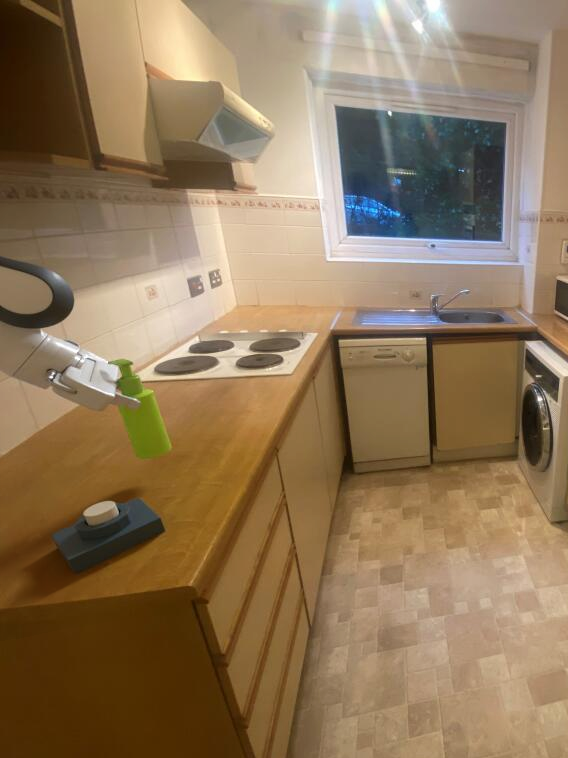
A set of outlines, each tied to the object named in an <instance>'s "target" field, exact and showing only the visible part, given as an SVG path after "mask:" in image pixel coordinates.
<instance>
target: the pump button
mask: <svg viewBox="0 0 568 758" xmlns="http://www.w3.org/2000/svg"><path fill="white" fill-rule="evenodd" d="M115 503H116V502H115V501H112V500H105V501H101V502H98V503H95V504H93V505H91V506H89V507H88V508H86V509H85V510H84V511H83V513H82V516H84V517H85V519H86V521H87V523H88V525H90V526H94V525H99V524H103V523H105V522H107V521H110V520H112V519H113V518H115V517H116V516H118V515H119V511H118V509H117V506H116V504H115Z"/></svg>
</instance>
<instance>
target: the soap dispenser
mask: <svg viewBox="0 0 568 758" xmlns="http://www.w3.org/2000/svg"><path fill="white" fill-rule="evenodd" d="M108 364H113V365H115V366H116V367H118V369H119V372H120V375H121V376H120V377H119V379H118V383H119V386H120V389H121V391H120V393H121V395H124V396H127V397H130V398H131V397H133V398H136V399H138V400H140V401H141V405H140V406H139V407H138V409H136V410H132V409H130V408H127V407H122V406H117V408H118V410H119V413H120V416H121V418H122V421H123V424H124V426H125V430H126V432H127V435H128V437H129V440H130V444H131V446H132V448H133V452H134V454H135V457H136V458H137V459H139V460H148V459H155V458H157V457H160V456H163V455H165V454H167V453H169V452H170V451H171V450H172V449H173V447H172V444H171V441H170V437H169V435H168V432H167V429H166V426H165V423H164V420H163V417H162V414H161V411H160V408H159V405H158V401H157V399H156V396H155V393H154V390H153V389H150V388H144V385H143V382H142V378H141V376H140V375H138V374H135V373H133V369H132V367H131V366H132V365H134V362H133V361H131V360H129V359H126V358H120V359H115V360H111V361H108Z"/></svg>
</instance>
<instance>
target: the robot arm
mask: <svg viewBox="0 0 568 758" xmlns="http://www.w3.org/2000/svg"><path fill="white" fill-rule="evenodd" d="M74 307H75V295H74V292H73V290H72V288H71V286H70V285H69V284H68V282H67V281H66V280H65V279H64V278H63V277H62V276H60V275H59V274H58V273H56V272H54V271H52V270H50V269H49V268H46V267H43V266H41V265H37V264H33V263H29V262H27V261H22V260H21V261H20V260H17V259H12V258H9V257H5V256H2V255H0V372H2V373H3V374H4V375H6V376H8V377H11V378H13V379H16V380H18V381H21V382H24V383H27V384H29V385H31V386H34V387H37V388H40V389H41V390H47V389H49V388H50V387H52V389H51V390H52V392H53V393H54V394H56V395H57V396H59V397H60V398H63V399H65V400H68V401H69V402H72V403H75V404H77V405H79V406H81V407H83V408H87V409H89V410H92V411H95V412H104V411H106V409H107V408H108V407H109V405H113V406H116V407H118V406H122V407H127V408H130V409H132V410H136V409H138V407H139V406H140V405H141V401H140V400H138V399H136V398H133V397H131V398H130V397H127V396H124V395H121V394H122V392H121V389H120V386H119V383H118V379H119V378H120V377H119V371H120V369H119V367H118V366H117V365H114V364H108V362H109V361H108V360H106V359H105V358H103V357H101V356H99V355H96V354H95V353H93V352H91V351H89V350H87V349H84V348H81V347H80V344H79V343H78V342H76V341H73V340H71V339H67V338H64V339H62V338H58V337H55V336H54V335H51V334H49V333H47V332H45V331H43V329H45V328H49V327H50V328H51V327H53V326H56V325H58V324H60V323H62V322H63V321H65V320H66V319H67V318H68V317H69V316H70V315H71V313H72V311H73V310H74ZM119 391H120V392H119Z"/></svg>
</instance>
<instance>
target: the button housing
mask: <svg viewBox="0 0 568 758" xmlns="http://www.w3.org/2000/svg"><path fill="white" fill-rule="evenodd" d="M115 504H116V506H117V509H118V511H119V515H118V516H116V517H115V518H113V519H112V520H110V521H107V522H105V523H103V524H99V525H94V526H90V525H88V523H87V521H86V519H85V517H84V515H82V516H80V517H79V518H78V519H77V520H76V522H75V523H74V524H72V525H70V526H66V527H65V528H62V529H60V530H57V531H55V532H53V533H51V534H50V536H51V538H52V540H53V542H54V544H55V545H56V548H57V549H58V550H59V552H60V554H61V555H62V557H63V559H64V560H65V562H66V563H67V564H68V566H69V567H70V569H71V570H72V572H73V574H74V575H78V574H81V573H82V572H84V571H86V570H88V569H90V568H93V567H95V566H97V565H98V564H101V563H102V562H104V561H108V560H109V559H111V558H113V557H115V556H117V555H119V554H121V553H123V552H126V551H128V550H129V549H131V548H134V547H136V546H138V545H140V544H142V543H144V542H146V541H148V540H151V539H152V538H154V537H156V536H158V535H160V534H162V533H165V532H166V528H165V526H164V524H163V521H162V518H161V517H160V516H159V515H158V513H156V512H155V511H154V509H152V508H151V506H149V505H148V504H146V502H145V501H144V500H143V499H142V498H140V497H136V498H134V499H132V500H129V501H126V502H125V503H123V502H122V503H120V502H119V503H118V502H115Z"/></svg>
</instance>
